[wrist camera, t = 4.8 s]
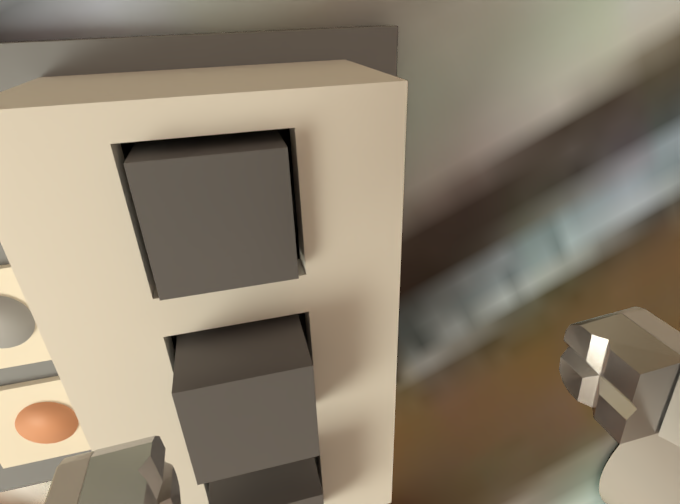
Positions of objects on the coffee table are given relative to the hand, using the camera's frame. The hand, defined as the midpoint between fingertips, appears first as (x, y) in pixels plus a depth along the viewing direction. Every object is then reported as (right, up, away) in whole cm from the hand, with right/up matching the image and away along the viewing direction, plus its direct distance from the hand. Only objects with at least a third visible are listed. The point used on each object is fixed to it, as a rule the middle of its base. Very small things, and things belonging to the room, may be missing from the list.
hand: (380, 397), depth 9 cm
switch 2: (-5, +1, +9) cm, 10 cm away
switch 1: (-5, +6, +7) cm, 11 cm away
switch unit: (-8, +2, +11) cm, 14 cm away
